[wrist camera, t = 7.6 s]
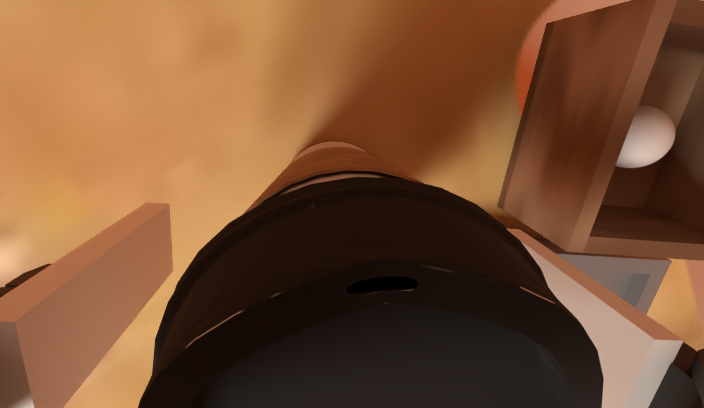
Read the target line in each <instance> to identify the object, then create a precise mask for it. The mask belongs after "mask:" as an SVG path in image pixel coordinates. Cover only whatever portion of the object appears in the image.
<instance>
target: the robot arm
mask: <svg viewBox="0 0 704 408" xmlns="http://www.w3.org/2000/svg"><path fill="white" fill-rule="evenodd" d="M507 230H508V231H509V232H511V233H512V234H513V235H514V236H516V237H517V238H518V239H519V240H520V241H521V242H522V244H523V245H524V246H525V248H526V249H527V250H528V252H529V253H530V254H531V256H532V257H533V258H534V260H535V261H536V262H537V264H538V265H539V266H540V268H541V270H542V272H543V275H544V277H545V280H546V282H547V285H548V287H549V289H550V290H551V291H552V292H553V294H554V295H555V296H556V298H557V299H558V300H559V301H560V302H561V303H562V304H563V305H564V306H565V307H566V308H567V309H568V310H569V311H570V312H571V313H572V314H573V315H574V316H575V317H576V318H577V319H578V320H579V322H580V323H581V324H582V326H583V327H584V329H585V331H586V332H587V334H588V336H589V337H590V339H591V340H592V342H593V344H594V345H595V347H596V348H597V350H598V355H599V359H600V364H601V368H602V373H603V378H604V382H603V396H602V408H704V349H701V350H698V352H697V351H696V350H694V349H693V348H691V347H690V346H688V345H687V344H685V343H684V342H683V341H684V340H682V339H681V338H679V337H678V336H676V335H675V334H673V333H672V332H670V331H669V330H668V329H666V328H665V327H663V326H662V325H660V324H659V323H657V322H656V321H654V320H653V319H651V318H650V317H648V316H647V315H645V314H644V313H642V312H641V311H640V310H638V309H637V308H635V307H634V306H632V305H631V304H629V303H628V302H626V301H625V300H623V299H622V298H620V297H619V296H617V295H616V294H614V293H613V292H611V291H610V290H609V289H607V288H606V287H604V286H603V285H601V284H600V283H598V282H597V281H595V280H594V279H592V278H591V277H589V276H588V275H586V274H585V273H583V272H582V271H581V270H579V269H578V268H576V267H575V266H573V265H572V264H570V263H569V262H567V261H566V260H564V259H563V258H561V257H560V256H558V255H557V254H555V253H554V252H552V251H551V250H550V249H548V248H547V247H545V246H544V245H542V244H541V243H539V242H538V241H536V240H535V239H533V238H532V237H530V236H529V235H527V234H526V233H524V232H523V231H521V230H520V229H507ZM172 271H173V261H172V243H171V225H170V207H169V204H163V203H149V202H147V203H145V204H144V205H142V206H141V207H139V208H138V209H136V210H134V211H133V212H131V213H130V214H128V215H127V216H125V217H124V218H122V219H121V220H119V221H118V222H116V223H114V224H113V225H111V226H110V227H108V228H107V229H105V230H104V231H102V232H101V233H99V234H98V235H96V236H94V237H93V238H91V239H90V240H88V241H87V242H85V243H84V244H82V245H81V246H79V247H78V248H76V249H74V250H73V251H71V252H70V253H68V254H67V255H65V256H64V257H62V258H61V259H59V260H58V261H56V262H55V263H53V264H46V265H44V266H41V267H39V268H36V269H33V270H31V271H28V272H26V273H23V274H22V275H20V276H19V277H17V278H15V279H14V280H12V281H11V282H9V283H7V284H6V285H5V287H1V288H0V408H63V407H64V406H65V404H66V403H67V402H68V401H69V399H70V398H71V397H72V396H73V394H74V393H75V392H76V391H77V389H78V388H79V387H80V386H81V385H82V383H83V382H84V381H85V380H86V378H87V377H88V376H89V375H90V373H91V372H92V371H93V370H94V368H95V367H96V366H97V365H98V363H99V362H100V361H101V360H102V358H103V357H104V356H105V355H106V353H107V352H108V351H109V350H110V348H111V347H112V346H113V345H114V343H115V342H116V341H117V340H118V339H119V337H120V336H121V335H122V334H123V332H124V331H125V330H126V329H127V327H128V326H129V325H130V324H131V322H132V321H133V320H134V319H135V317H136V316H137V315H138V314H139V312H140V311H141V310H142V309H143V307H144V306H145V305H146V304H147V302H148V301H149V300H150V299H151V297H152V296H153V295H154V294H155V293H156V291H157V290H158V289H159V288H160V286H161V285H162V284H163V283H164V281H165V280H166V279H167V278H168V276H169V275H170V274H171V273H172Z"/></svg>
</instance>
